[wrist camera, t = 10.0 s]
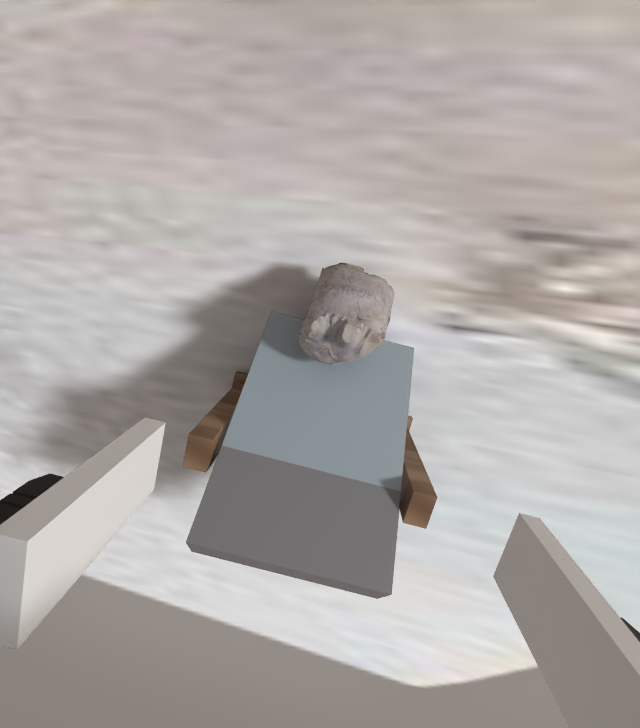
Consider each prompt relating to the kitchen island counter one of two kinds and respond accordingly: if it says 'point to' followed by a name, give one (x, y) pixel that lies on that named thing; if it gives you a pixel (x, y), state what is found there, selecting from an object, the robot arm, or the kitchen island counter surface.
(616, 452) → the kitchen island counter surface
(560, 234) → the kitchen island counter surface
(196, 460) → the frame
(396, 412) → the trapdoor
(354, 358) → the stone
